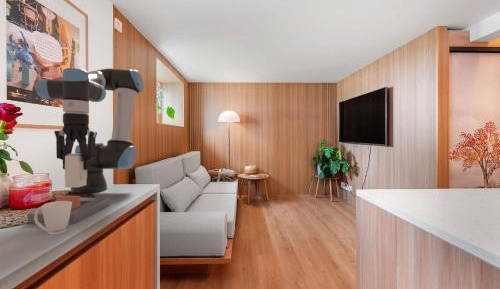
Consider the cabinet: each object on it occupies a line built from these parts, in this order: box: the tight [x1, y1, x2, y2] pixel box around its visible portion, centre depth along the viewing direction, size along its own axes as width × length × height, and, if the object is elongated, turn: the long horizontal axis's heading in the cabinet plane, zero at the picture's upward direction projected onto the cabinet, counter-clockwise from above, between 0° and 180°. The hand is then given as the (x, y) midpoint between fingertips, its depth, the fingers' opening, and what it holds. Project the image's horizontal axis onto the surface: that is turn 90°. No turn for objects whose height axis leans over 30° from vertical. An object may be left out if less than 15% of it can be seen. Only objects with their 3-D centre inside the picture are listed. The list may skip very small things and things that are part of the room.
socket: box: [26, 197, 109, 225], centre depth 86 cm, size 20×14×3 cm
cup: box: [34, 200, 72, 236], centre depth 70 cm, size 7×10×8 cm
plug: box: [64, 152, 86, 188], centre depth 88 cm, size 4×4×12 cm
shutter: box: [55, 195, 81, 210], centre depth 81 cm, size 7×7×4 cm
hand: (76, 178), depth 88 cm, fingers closed on plug, 4 cm apart
